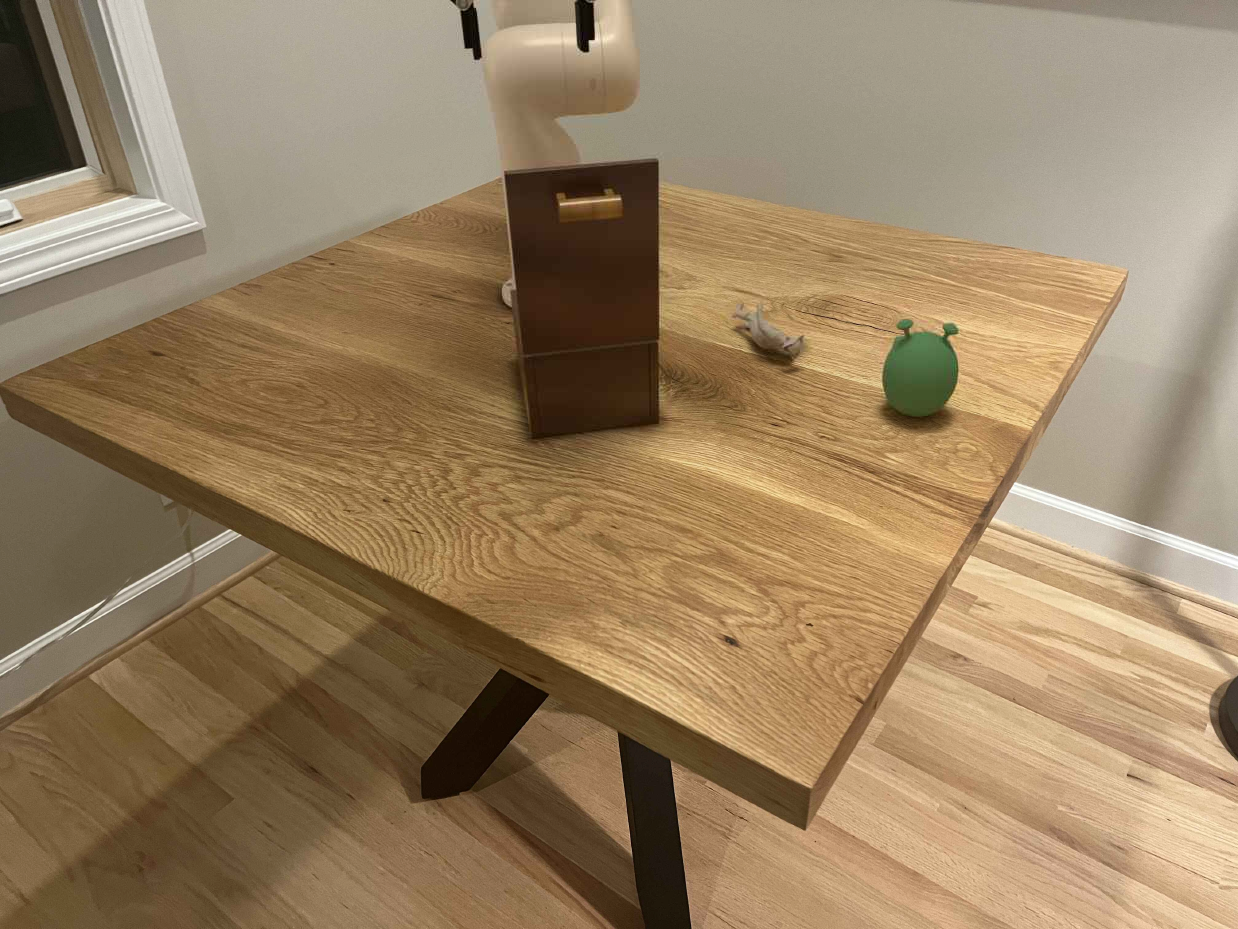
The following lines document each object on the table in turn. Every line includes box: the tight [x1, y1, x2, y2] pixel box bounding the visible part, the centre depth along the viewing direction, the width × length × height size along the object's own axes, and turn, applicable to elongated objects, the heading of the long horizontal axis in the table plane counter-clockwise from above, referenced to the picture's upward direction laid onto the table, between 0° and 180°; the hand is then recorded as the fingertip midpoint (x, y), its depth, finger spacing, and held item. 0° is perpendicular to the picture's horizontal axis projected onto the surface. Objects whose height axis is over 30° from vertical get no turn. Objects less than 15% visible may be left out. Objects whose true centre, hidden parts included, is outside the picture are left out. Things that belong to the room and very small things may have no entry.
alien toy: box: [881, 318, 960, 418], centre depth 87 cm, size 7×8×10 cm
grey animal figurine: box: [730, 299, 805, 362], centre depth 101 cm, size 8×5×12 cm
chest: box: [510, 290, 660, 439], centre depth 93 cm, size 16×13×9 cm
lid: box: [504, 157, 660, 355], centre depth 77 cm, size 17×13×5 cm
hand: (530, 53), depth 82 cm, fingers open, 9 cm apart
